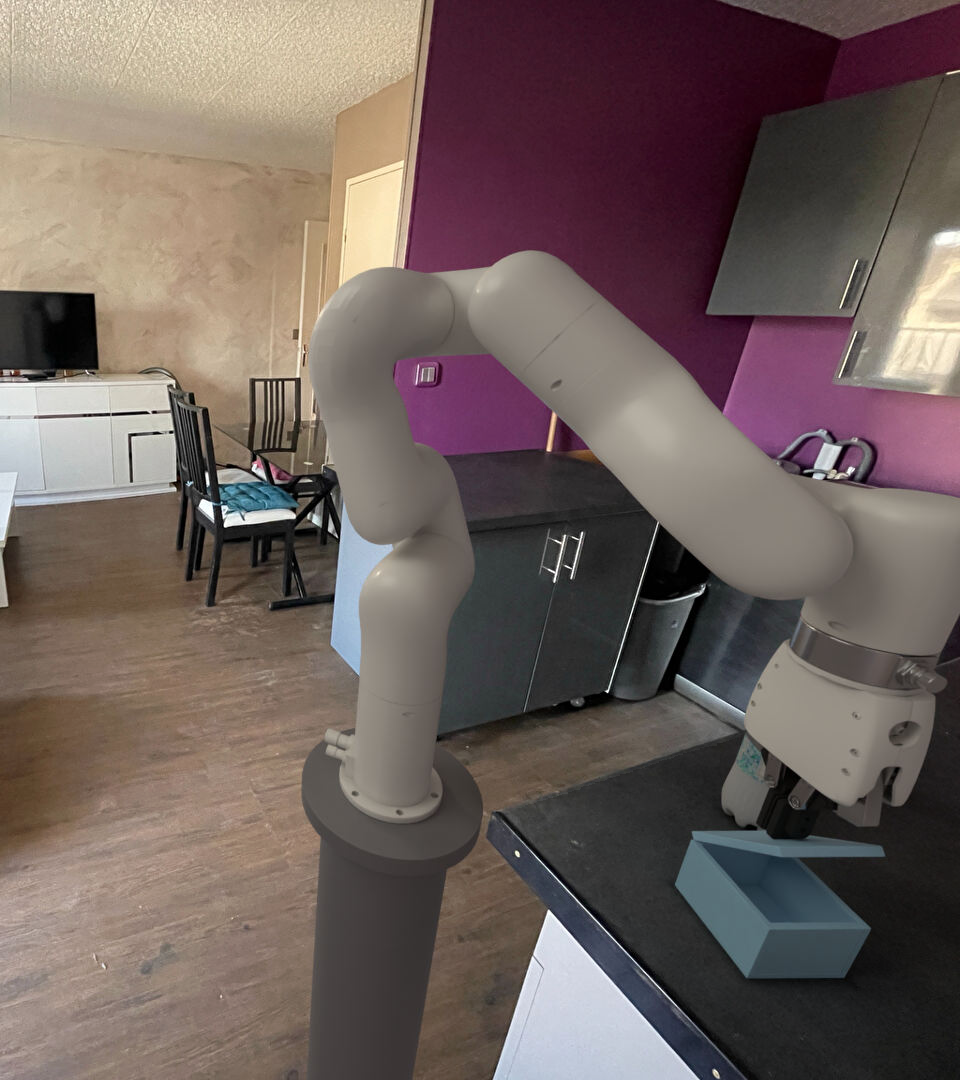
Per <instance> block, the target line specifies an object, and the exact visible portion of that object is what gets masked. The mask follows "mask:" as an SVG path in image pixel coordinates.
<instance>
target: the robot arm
mask: <svg viewBox="0 0 960 1080" xmlns="http://www.w3.org/2000/svg"><path fill="white" fill-rule="evenodd" d="M308 343H309V344H308V357H307V362H308V373H309V377H310V383H311V387H312V391H313V394H314V397H315V400H316V404H317V407H318V409H319V413H320V416H321V420H322V423H323V427H324V430H325V433H326V438H327V442H328V447H329V451H330V454H331V459H332V462H333V466H334V469H335V473H336V478H337V481H338V485H339V488H340V492H341V496H342V499H343V503H344V506H345V510H346V514H347V517H348V520H349V523H350V524H351V526H352V528H353V530H354V531H355V532H356V533H357V535H359V536H360V537H361V539H363V540H365V541H366V542H368V543H370V544H373V545H378V546H388V545H391V546H392V550H391V551H390V552H389V553H388V554H386V555H385V556H384V557H383V558H382V559H381V560H379V562H378V563H376V564H375V566H374V567H373V568H372V569H371V571H370V572H369V573H368V575H367V576H366V578H365V580H364V582H363V584H362V586H361V590H360V593H359V597H358V618H359V627H360V658H359V659H360V660H359V672H358V673H359V674H358V676H359V677H358V678H359V680H358V691H357V706H356V715H355V716H356V719H355V728H356V729H355V735H351V736H350V737H349V736H347V735H344V734H342V733H341V731H338V730H336V729H332V728H329V727H328V728H327V730H326V731H325V735H324V737H323V738H324V739H323V740H324V742H326V743H328V744H329V745H328V746H327V749H326V755H328V756H331V757H333V758H337V759H340V760H342V764H341V766H340V773H339V781H340V785H341V789H342V791H343V793H344V794H345V796H346V798H347V799H348V800H349V801H350V802H351V803H352V804H353V805H354V806H355V807H356V808H357V809H359V810H360V811H362V812H363V813H365V814H367V815H368V816H371V817H373V818H375V819H378V820H381V821H385V822H389V823H397V824H409V823H414V822H419V821H421V820H424V819H426V818H428V817H429V816H431V815H432V814H433V813H434V812H435V811H436V810H437V809H438V807H439V805H440V803H441V799H442V783H441V779H440V777H439V775H438V773H437V772H436V770H435V769H434V768H433V767H432V766H433V759H434V752H435V745H436V744H437V739H438V738H437V737H438V730H439V723H440V716H441V710H442V701H443V695H444V688H445V687H444V686H445V680H446V671H447V659H448V634H449V628H450V624H451V620H452V618H453V616H454V613H455V612H456V610H457V609H458V607H459V606H460V604H461V602H462V600H463V598H464V597H465V596H466V594H467V593H468V591H469V589H470V587H471V586H472V583H473V581H474V577H475V571H476V562H475V555H474V550H473V545H472V541H471V536H470V533H469V529H468V525H467V519H466V515H465V511H464V507H463V503H462V499H461V494H460V490H459V486H458V483H457V480H456V477H455V474H454V471H453V470H452V467H451V466H450V464H449V462H448V461H447V459H446V458H445V456H443V455H442V454H441V453H440V452H439V451H438V450H437V449H435V448H433V447H431V446H430V445H428V444H424V443H421V442H415V439H414V436H413V433H412V429H411V426H410V420H409V413H408V410H407V407H406V404H405V402H404V400H403V396H402V395H401V392H400V391H399V388H398V387H397V384H396V381H395V378H394V366H395V364H396V363H397V362H399V361H405V360H409V359H417V358H427V357H445V356H447V357H448V356H473V355H475V356H477V355H491V356H492V357H493V358H494V359H496V360H497V361H498V362H499V363H500V364H501V365H502V366H503V367H504V368H506V370H508V371H509V373H511V374H512V375H513V376H514V377H515V378H516V379H517V380H519V382H521V383H522V384H523V385H524V386H525V388H527V389H528V391H530V392H531V393H532V394H534V395H535V396H536V397H537V398H538V399H539V400H540V401H541V402H542V403H543V404H544V405H545V406H547V407H548V408H549V410H551V411H552V412H553V413H554V414H555V415H556V416H557V417H558V418H559V419H561V420H562V422H563V423H565V424H566V426H567V427H569V428H570V429H571V430H572V431H573V432H574V433H575V434H576V435H577V436H578V437H579V438H580V439H581V440H582V441H583V443H585V445H586V446H587V447H588V449H589V450H590V451H591V452H592V454H593V455H594V456H595V457H596V459H598V461H600V462H601V463H602V464H603V465H604V466H605V468H607V469H608V470H609V472H611V473H612V475H614V476H615V477H616V479H618V481H619V482H621V484H622V485H623V486H624V487H625V488H626V489H627V490H628V492H629V493H630V494H631V495H632V496H633V497H634V498H635V499H636V500H637V501H638V503H639V504H640V505H641V506H642V507H643V508H644V509H645V510H646V511H647V512H648V513H649V514H650V515H651V516H652V517H653V518H654V519H655V520H656V521H657V522H658V523H659V524H660V525H661V526H662V527H663V528H664V529H665V530H666V531H667V532H668V533H669V534H670V535H671V536H672V537H673V538H674V539H675V540H677V541H678V542H679V543H680V544H681V545H682V546H683V547H684V548H685V549H686V550H687V551H688V552H689V553H691V554H692V555H693V556H694V557H695V558H696V559H697V560H698V561H699V562H700V563H701V564H702V565H703V566H705V568H707V569H708V570H709V571H710V572H711V573H713V574H714V575H715V576H716V577H717V578H718V579H719V580H721V581H722V582H724V583H725V584H726V585H728V586H730V587H732V588H733V589H735V590H737V591H739V592H741V593H743V594H745V595H750V596H751V597H754V598H760V599H765V600H773V601H791V600H793V601H794V600H800V599H804V598H805V600H804V602H803V604H802V607H801V610H800V613H799V615H798V618H797V620H796V623H795V626H794V629H793V631H792V634H791V636H790V638H787V639H786V640H784V641H783V642H782V643H781V645H779V646H778V648H777V649H776V651H775V652H774V653H773V655H772V657H771V658H770V659H769V661H768V663H767V664H766V665H765V668H764V669H763V671H762V673H761V675H760V677H759V678H758V681H757V682H756V684H755V687H754V689H753V691H752V694H751V696H750V698H749V701H748V703H747V706H746V710H745V713H744V720H743V724H744V728H745V733H746V736H747V737H748V739H749V740H750V741H751V742H752V743H753V745H754V746H755V747H756V748H757V749H758V750H759V752H761V756H762V758H763V761H764V764H765V767H766V769H765V774H764V781H765V783H766V785H767V786H768V787H770V788H769V790H768V793H767V795H766V798H765V800H764V803H763V805H762V808H761V811H760V813H759V816H758V818H757V821H756V824H757V825H758V826H759V827H760V828H761V829H765V830H766V833H767V834H768V835H769V836H770V837H771V838H772V839H805V838H807V837H808V836H809V835H811V834H812V831H813V830H814V827H815V825H816V823H817V821H818V819H819V816H820V814H821V811H831V812H833V813H835V815H836V816H838V817H840V818H841V819H843V820H844V821H846V822H848V823H850V824H852V825H854V826H855V827H857V828H876V827H878V826H879V825H880V820H881V813H882V807H883V806H882V805H883V803H884V804H886V805H889V806H891V807H901V806H903V805H904V804H905V803H906V802H907V800H908V799H909V796H910V795H911V793H912V791H913V788H914V787H915V784H916V782H917V780H918V778H919V774H920V772H921V770H922V767H923V764H924V761H925V758H926V755H927V753H928V750H929V749H928V748H929V745H930V742H931V739H932V733H933V729H934V723H935V716H936V715H935V714H936V696H935V694H938V693H940V692H942V691H943V690H944V689H945V688H946V687H947V685H948V679H947V678H946V677H944V676H942V675H940V674H938V673H937V671H936V670H935V669H936V667H937V664H938V662H939V660H940V656H941V653H942V651H943V649H944V647H945V646H946V643H947V641H948V639H949V637H950V635H951V633H952V631H953V629H954V627H955V625H956V623H957V621H958V620H959V619H958V618H959V617H960V497H957V496H952V495H948V494H943V493H939V492H938V493H937V492H932V491H931V492H930V491H924V490H917V489H907V488H891V487H890V488H888V487H884V488H883V487H882V488H864V487H859V486H852V485H848V484H842V483H838V482H837V483H836V482H832V481H826V480H821V479H817V478H813V477H808V476H804V475H799V474H794V473H791V472H788V471H786V470H785V469H784V468H783V467H782V466H780V465H779V464H778V463H777V462H776V461H775V460H773V459H772V458H771V457H770V456H769V455H768V454H766V452H764V451H763V450H762V449H761V448H760V447H759V446H758V445H757V444H756V443H754V442H753V441H752V440H751V439H750V438H749V437H748V436H747V435H746V434H745V433H744V432H742V430H741V429H739V428H738V427H737V426H736V425H735V424H734V423H733V422H732V421H731V420H730V419H729V418H728V417H727V416H726V415H725V414H724V413H723V412H722V411H721V410H720V409H719V407H717V406H716V405H715V403H714V402H712V400H711V398H709V396H708V395H707V394H706V393H705V391H704V389H702V387H701V386H700V385H699V383H698V382H697V380H696V379H695V378H694V377H693V375H692V374H691V373H690V372H689V371H688V370H687V369H686V368H685V367H684V366H683V365H682V364H681V363H680V362H679V361H678V360H677V359H676V358H675V357H674V356H673V355H672V354H671V353H669V352H668V351H667V350H666V349H664V347H662V346H661V345H659V343H658V342H657V341H655V340H654V339H653V338H652V337H650V335H648V334H647V333H646V332H645V331H643V330H642V329H641V328H640V327H638V326H637V325H636V324H635V323H634V322H633V321H632V320H630V318H628V317H627V316H626V315H625V314H624V313H622V312H621V311H620V310H619V309H618V308H616V307H615V306H614V305H613V303H611V302H610V301H609V300H607V299H606V298H605V296H603V295H602V294H601V293H599V291H597V290H596V289H595V288H594V287H592V286H591V284H589V283H588V282H587V281H586V280H585V279H584V278H582V277H581V275H579V274H577V273H576V271H575V270H574V269H573V268H572V267H571V266H570V265H569V264H568V263H566V262H564V261H563V260H561V259H560V258H558V257H557V256H556V255H555V256H554V255H553V254H550V253H549V252H546V251H541V250H534V249H533V250H531V249H530V250H523V251H522V250H521V251H517V252H514V253H512V254H509V255H507V256H505V257H503V258H500V260H498V261H496V262H495V263H494V264H493V265H491V266H486V267H479V268H470V269H458V270H448V271H437V272H422V271H417V270H416V271H415V270H412V269H407V268H401V267H396V266H381V267H373V268H369V269H367V270H365V271H362V272H360V273H358V274H356V275H354V276H352V277H351V278H349V279H348V280H346V281H345V282H343V283H342V284H341V285H340V286H339V287H338V288H337V289H336V291H335V292H333V294H332V295H331V296H330V297H329V298H328V300H327V301H326V302H325V304H324V305H323V307H322V308H321V310H320V312H319V314H318V316H317V317H316V320H315V323H314V325H313V327H312V331H311V334H310V339H309V342H308ZM330 744H331V745H330ZM332 745H333V746H332ZM335 746H336V747H335ZM337 747H341V748H343V749H346V750H345V751H344V750H341V749H339V748H337Z"/></svg>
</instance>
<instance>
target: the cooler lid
mask: <svg viewBox="0 0 960 1080" xmlns="http://www.w3.org/2000/svg"><path fill="white" fill-rule="evenodd" d="M691 835H692V840H695V841H700V842H705V843H711V844H716V845H721V846H726V847H731V848H736V849H741V850H746V851H751V852H756V853H761V854H766V855H771V856H777V857H797V858H884V857H886V854H885V851H884V848H883V846H882V845H879V844H872V843H865V842H859V841H851V840H844V839H838V838H832V837H824V836H819V835H811V834H810V835H809V836H808V837H807V838H805V839H772V838H771V837H770V836H769V835H768V834H767V833H766V831H757V830H692V831H691Z"/></svg>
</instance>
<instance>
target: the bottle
mask: <svg viewBox="0 0 960 1080" xmlns="http://www.w3.org/2000/svg"><path fill="white" fill-rule="evenodd" d="M765 769H766V767H765V764H764V761H763V758H762V756H761V752H759V750H758V749H757V748H756V747H755V746H754V745H753V743H752V742H751V741H750V740H749V739H748V737H747V736H746V732H745V734H744V736H743V739H742V742H741V745H740V747H739V750H738V752H737V755H736V757H735V761H734V763H733V765H732V766H731V769H730V771H729V773H728V775H727V776H726V779H725V781H724V783H723V786H722V789H721V808H722V810H723V812H724V813H725V814H726V815H728V816H730V817H732V816H734V819H735V823H736V825H738V826H739V827H741V828H743V829H744V828H746V827H748V825H751V826H754V827H756V831H766V830H765V829H761V828H760V827H759V826H758V825H757V824H756V821H757V818H758V816H759V813H760V811H761V808H762V805H763V803H764V800H765V798H766V795H767V793H768V790H769V788H770V787H768V786H767V785H766V783H765V781H764V774H765Z"/></svg>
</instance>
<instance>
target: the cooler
mask: <svg viewBox="0 0 960 1080" xmlns="http://www.w3.org/2000/svg"><path fill="white" fill-rule="evenodd" d="M674 886H675V887H676V889H677V890H678V892H679V893H680V894H681V895H682V896H683V898H684V899H685V900H686V902H687V903H688V905H689V906H690V907H691V909H692V910H693V912H694V913H696V914H697V916H698V918H699V919H700V920H701V922H702V923H703V924H704V925H705V926H706V927H707V929H708V931H709V932H710V933H711V934H712V935H713V937H714V938H715V939H716V941H717V942H718V943H719V944H720V946H721V947H722V948H723V950H724V951H725V952H726V954H727V955H728V956H729V957H730V959H731V961H732V962H733V963H734V964H735V965H736V967H737V969H739V971H740V972H741V973H742V975H743V976H744V977H745V978H746V979H844V978H845V977H846V975H847V974H848V972H849V970H850V969H851V967H852V965H853V963H854V961H855V959H856V958H857V956H858V954H859V952H860V951H861V949H862V947H863V945H864V943H865V941H866V940H867V938H868V936H869V934H870V932H871V930H872V928H871V927H870V926H869V924H867V923H866V922H865V921H864V920H863V919H862V918H861V917H860V916H859V915H858V914H857V913H856V912H855V911H853V910H852V909H851V907H850V906H848V904H846V903H845V901H844V900H842V899H841V898H840V897H839V896H838V895H837V894H836V893H835V892H834V891H833V890H832V889H831V888H830V887H828V885H827V884H825V882H823V880H822V879H820V878H819V877H818V875H816V874H815V873H814V872H813V871H812V870H811V869H810V868H809V867H808V866H807V865H806V864H805V863H804V862H803V861H802V860H801V859H800V858H799V857H777V856H771V855H766V854H761V853H756V852H751V851H746V850H741V849H736V848H731V847H726V846H721V845H716V844H711V843H705V842H700V841H695V840H694V839H690V842H689V845H688V847H687V850H686V853H685V855H684V858H683V861H682V863H681V866H680V869H679V872H678V875H677V877H676V880H675V883H674Z"/></svg>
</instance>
